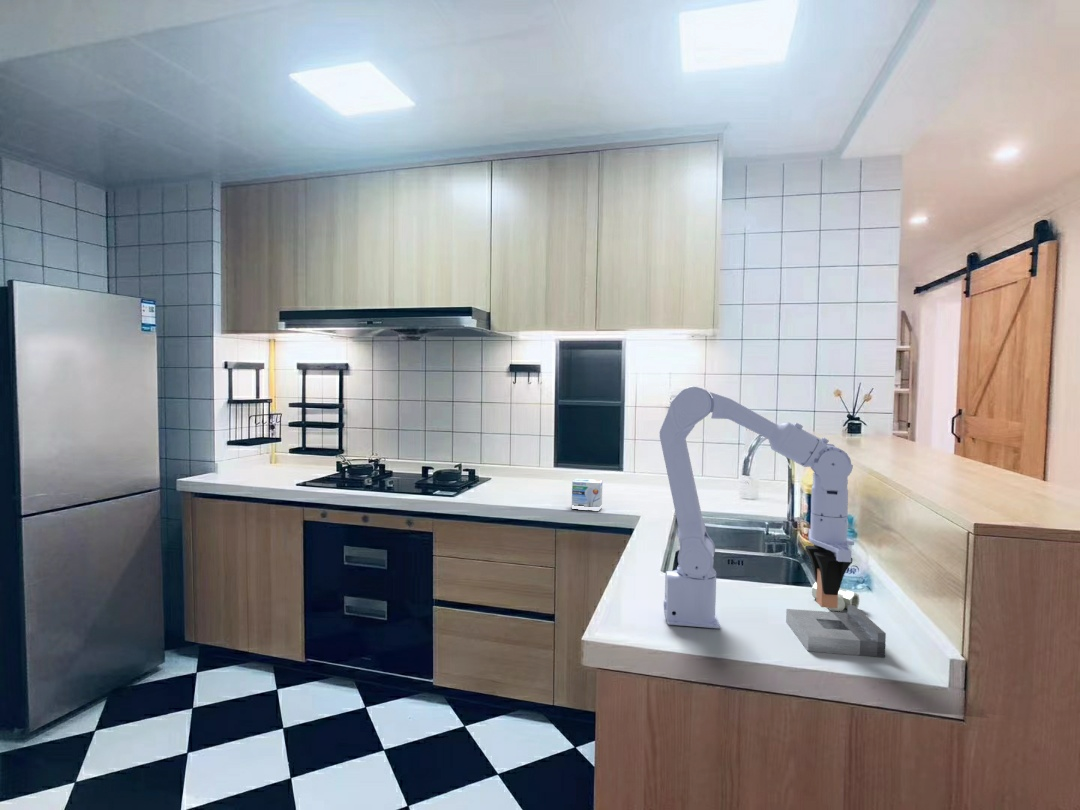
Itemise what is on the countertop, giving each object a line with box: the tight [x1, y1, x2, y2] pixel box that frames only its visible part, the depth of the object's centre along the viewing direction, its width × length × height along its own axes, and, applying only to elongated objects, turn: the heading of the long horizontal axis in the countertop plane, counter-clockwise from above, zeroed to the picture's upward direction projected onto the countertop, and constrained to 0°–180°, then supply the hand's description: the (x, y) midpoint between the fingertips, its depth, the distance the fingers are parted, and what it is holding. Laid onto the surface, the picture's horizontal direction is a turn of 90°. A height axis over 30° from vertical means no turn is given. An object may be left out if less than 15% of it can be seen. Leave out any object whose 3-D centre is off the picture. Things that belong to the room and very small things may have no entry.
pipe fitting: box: [811, 581, 860, 613], centre depth 112 cm, size 8×4×7 cm
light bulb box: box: [571, 478, 603, 507], centre depth 203 cm, size 11×7×11 cm, turn 77°
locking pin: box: [815, 568, 838, 609], centre depth 97 cm, size 3×3×6 cm
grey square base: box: [785, 605, 887, 658], centre depth 97 cm, size 12×12×4 cm
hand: (827, 590), depth 97 cm, fingers closed on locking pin, 3 cm apart
